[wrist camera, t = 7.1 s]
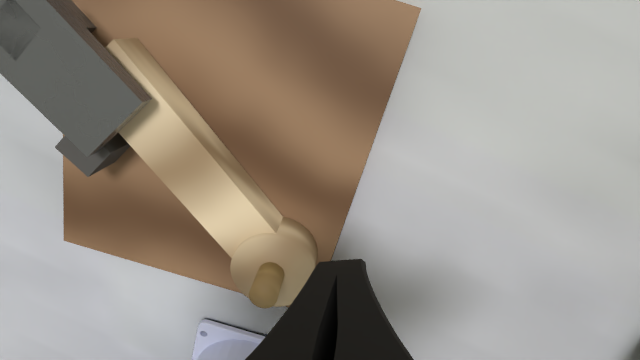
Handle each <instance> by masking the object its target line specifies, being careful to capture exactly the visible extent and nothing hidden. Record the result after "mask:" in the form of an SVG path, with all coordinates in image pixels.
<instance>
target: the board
mask: <svg viewBox="0 0 640 360" xmlns="http://www.w3.org/2000/svg"><path fill="white" fill-rule="evenodd" d="M72 1H73V2H74V3H75V5H76V6H77V7H78V8H79V9H80V10H81V11H82V12H83V13H84V14H85V15H86V16H87V18H88V19H89V20H90V21H91V22H92V23H93V24H94V25H95V26H96V27H97V28H96V29H95V30H94V31H93V32H92V35H93V36H94V37H95V38H96V39H97V40H98V41H99V42H100V43H101V44H102V45H103V46H104V47H106V46H107V45H108V44H109V43H110V42H111V41H112V40H113V39H127V38H137V39H138V40H139V41H140V42H141V43H142V45H143V46H144V47H145V48H146V50H147V51H148V52H149V53H150V54H151V56H152V57H153V58H154V59H155V61H156V62H157V63H158V64H159V65H160V67H161V68H162V69H163V70H164V72H165V73H166V74H167V75H168V77H169V78H170V79H171V80H172V81H173V83H174V84H175V85H176V86H177V88H178V89H179V90H180V91H181V92H182V94H183V95H184V96H185V97H186V99H187V100H188V101H189V102H190V103H191V105H192V106H193V107H194V108H195V110H196V111H197V112H198V113H199V114H200V116H201V117H202V118H203V119H204V121H205V122H206V123H207V124H208V126H209V127H210V128H211V129H212V130H213V132H214V133H215V134H216V135H217V137H218V138H219V139H220V140H221V141H222V143H223V144H224V145H225V146H226V148H227V149H228V150H229V151H230V152H231V154H232V155H233V156H234V157H235V159H236V160H237V161H238V162H239V163H240V165H241V166H242V167H243V168H244V170H245V171H246V172H247V173H248V175H249V176H250V177H251V178H252V179H253V181H254V182H255V183H256V184H257V186H258V187H259V188H260V189H261V190H262V192H263V193H264V194H265V195H266V197H267V198H268V199H269V200H270V201H271V203H272V204H273V205H274V206H275V208H276V209H277V210H278V211H279V212H280V214H281V215H282V216H283V217H286V218H290V219H293V220H295V221H297V222H299V223H300V224H302V225H303V226H304V227H306V228H307V229H308V230H309V231H310V233H311V234H312V236H313V237H314V239H315V241H316V244H317V251H318V254H317V261H316V265H317V264H318V263H319V262H325V261H331V258H332V255H333V253H334V250H335V247H336V244H337V242H338V239H339V236H340V233H341V230H342V228H343V225H344V222H345V219H346V216H347V214H348V211H349V208H350V205H351V203H352V200H353V197H354V194H355V191H356V189H357V186H358V183H359V180H360V178H361V175H362V172H363V169H364V166H365V164H366V161H367V158H368V155H369V152H370V150H371V147H372V144H373V141H374V139H375V136H376V133H377V130H378V127H379V125H380V122H381V119H382V116H383V113H384V111H385V108H386V105H387V102H388V100H389V97H390V94H391V91H392V88H393V86H394V83H395V80H396V77H397V75H398V72H399V69H400V66H401V63H402V61H403V58H404V55H405V52H406V49H407V47H408V44H409V41H410V38H411V36H412V33H413V30H414V27H415V24H416V22H417V19H418V16H419V13H420V10H421V8H419V7H415V6H412V5H409V4H406V3H403V2H399V1H396V0H72ZM64 136H65V135H64V134H63V137H64ZM63 191H64V241H67V242H70V243H74V244H77V245H81V246H84V247H87V248H91V249H94V250H97V251H101V252H104V253H108V254H111V255H114V256H118V257H121V258H124V259H128V260H131V261H135V262H138V263H141V264H145V265H148V266H151V267H155V268H158V269H162V270H165V271H168V272H172V273H175V274H178V275H182V276H185V277H189V278H192V279H195V280H199V281H202V282H205V283H209V284H212V285H216V286H219V287H222V288H226V289H229V290H233V291H236V292H239V293H242V292H241V291H240V290H239V289H238V288H237V286H236V285H235V283H234V281H233V279H232V276H231V270H230V265H231V260H232V258H231V257H230V256H229V255H228V254H227V252H226V251H225V250H224V249H223V248H222V247H221V246H220V245H219V244H218V243H217V241H216V240H215V239H214V238H213V237H212V236H211V235H210V234H209V233H208V231H207V230H206V229H205V228H204V227H203V226H202V225H201V224H200V223H199V221H198V220H197V219H196V218H195V217H194V216H193V215H192V214H191V213H190V211H189V210H188V209H187V208H186V207H185V206H184V205H183V204H182V203H181V201H180V200H179V199H178V198H177V197H176V196H175V195H174V194H173V193H172V191H171V190H170V189H169V188H168V187H167V186H166V185H165V184H164V183H163V181H162V180H161V179H160V178H159V177H158V176H157V175H156V174H155V173H154V171H153V170H152V169H151V168H150V167H149V166H148V165H147V164H146V163H145V161H144V160H143V159H142V158H141V157H140V156H139V155H138V154H137V153H136V151H135V150H134V149H133V148H132V147H131V146H130V147H129V148H128V149H127V150H126V151H125V152H124V153H123V154H122V155H121V156H120V158H119V159H118V160H117V161H116V162H114V163H113V164H111V165H109V166H107V167H105V168H104V169H102V170H100V171H98V172H96V173H95V174H93V175H91V176H89V177H87V176H86V175H85V174H84V173H83V172H82V171H81V170H79V169H78V168H77V167H76V166H75V165H74V164H73V163H72V162H71V161H69V160H68V159H67V158H66V157H65V156H64V155H63ZM315 267H316V266H315ZM289 306H290V305H287V307H289Z"/></svg>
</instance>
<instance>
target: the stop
mask: <svg viewBox="0 0 640 360" xmlns="http://www.w3.org/2000/svg"><path fill="white" fill-rule="evenodd" d="M129 147H130V145H129V144H128V143H127V141H126V140H125V139H124V138H123V137H122V136H121V135H120V134H119V133H117V134H116V135H115V136H114V137H113V138H112V139H111V140H110V141H109V142H108V143H107V144H106V145H105V146H104V147H103V148H102V149H101V150H100V151H99V152H97V153H95V154H93V155H91V156H89V157H87V156H85V155H84V154H83V153H82V152H81V151H80V150H79V149H78V148H77V147H76V146H75V145H74V144H73V143H72V142H71V141H70V140H69V139H68V138H67V137H66V136H64V137H63V138H62V140H61V141H60V142H59V143H58V144H57V145H56V147H55V148H56V149H57V150H58V151H60V152H61V153H62V154H63V155H64V156H65V157H66V158H67V159H68V160H69V161H71V162H72V163H73V164H74V165H75V166H76V167H77V168H78V169H79V170H81V171H82V172H83V173H84V174H85V175H86V176H87V177H89V176H91V175H93V174H95V173H96V172H98V171H100V170H102V169H104V168H105V167H107V166H109V165H111V164H113V163H114V162H116V161H117V160H118V159H119V158H120V156H121V155H122V154H123V153H124V152H125V151H126V150H127V149H128V148H129Z"/></svg>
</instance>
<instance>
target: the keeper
mask: <svg viewBox="0 0 640 360" xmlns="http://www.w3.org/2000/svg"><path fill="white" fill-rule="evenodd" d="M96 28H97V27H96V26H95V25H94V24H93V23H92V22H91V21H90V20H89V19H88V18H87V16H86V15H85V14H84V13H83V12H82V11H81V10H80V9H79V8H78V7H77V6H76V5H75V3H74V2H73V1H72V0H0V73H1V74H2V75H3V76H4V77H5V78H6V79H7V80H8V81H9V82H10V83H11V84H12V85H13V86H14V87H15V88H16V89H17V90H18V91H19V92H20V93H21V94H22V95H23V96H24V97H25V98H26V99H28V100H29V101H30V102H31V103H32V104H33V105H34V106H35V107H36V108H37V109H38V110H39V111H40V112H41V113H42V114H43V115H44V116H45V117H46V118H47V119H48V120H49V121H50V122H51V123H52V124H53V125H54V126H55V127H56V128H58V129H59V130H60V131H61V132H62V133H63V134H64V135H65V136H66V137H67V138H68V139H69V140H70V141H71V142H72V143H73V144H74V145H75V146H76V147H77V148H78V149H79V150H80V151H81V152H82V153H83V154H84V155H85V156H87V157H89V156H91V155H93V154H95V153H97V152H99V151H100V150H101V149H102V148H103V147H104V146H105V145H106V144H107V143H108V142H109V141H110V140H111V139H112V138H113V137H114V136H115V135H116V134H117V133H118V132H119V131H120V130H121V129H122V128H123V127H124V126H125V125H126V124H127V123H128V122H129V121H130V120H131V119H132V118H133V117H134V116H135V115H136V114H138V113H139V112H140V111H141V110H142V109H143V108H144V107H145V106H146V105H147V104H148V103H149V102H150V101H151V100H152V98H151V97H150V96H149V95H148V94H147V93H146V92H145V90H144V89H143V88H142V87H141V86H140V85H139V84H138V83H137V82H136V81H135V80H134V79H133V78H132V76H131V75H130V74H129V73H128V72H127V71H126V70H125V69H124V68H123V67H122V66H121V65H120V64H119V63H118V61H117V60H116V59H115V58H114V57H113V56H112V55H111V54H110V53H109V52H108V51H107V50H106V49H105V47H104V46H103V45H102V44H101V43H100V42H99V41H98V40H97V39H96V38H95V37H94V36H93V35H92V32H93V31H94V30H95V29H96Z"/></svg>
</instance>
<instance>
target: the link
mask: <svg viewBox="0 0 640 360" xmlns="http://www.w3.org/2000/svg"><path fill="white" fill-rule="evenodd" d="M105 49H106V50H107V51H108V52H109V53H110V54H111V55H112V56H113V57H114V58H115V59H116V60H117V61H118V63H119V64H120V65H121V66H122V67H123V68H124V69H125V70H126V71H127V72H128V73H129V74H130V75H131V76H132V78H133V79H134V80H135V81H136V82H137V83H138V84H139V85H140V86H141V87H142V88H143V89H144V90H145V92H146V93H147V94H148V95H149V96H150V97H151V98H152V100H151V101H150V102H149V103H148V104H147V105H146V106H145V107H144V108H143V109H142V110H141V111H140V112H139V113H138V114H136V115H135V116H134V117H133V118H132V119H131V120H130V121H129V122H128V123H127V124H126V125H125V126H124V127H123V128H122V129H121V130H120V131H119V132H118V133H119V134H120V135H121V136H122V137H123V138H124V139H125V140H126V141H127V143H128V144H129V145H130V146H131V147H132V148H133V149H134V150H135V151H136V153H137V154H138V155H139V156H140V157H141V158H142V159H143V160H144V161H145V163H146V164H147V165H148V166H149V167H150V168H151V169H152V170H153V171H154V173H155V174H156V175H157V176H158V177H159V178H160V179H161V180H162V181H163V183H164V184H165V185H166V186H167V187H168V188H169V189H170V190H171V191H172V193H173V194H174V195H175V196H176V197H177V198H178V199H179V200H180V201H181V203H182V204H183V205H184V206H185V207H186V208H187V209H188V210H189V211H190V213H191V214H192V215H193V216H194V217H195V218H196V219H197V220H198V221H199V223H200V224H201V225H202V226H203V227H204V228H205V229H206V230H207V231H208V233H209V234H210V235H211V236H212V237H213V238H214V239H215V240H216V241H217V243H218V244H219V245H220V246H221V247H222V248H223V249H224V250H225V251H226V252H227V254H228V255H229V256H230V257H231V258H232V260H231V265H230V270H231V276H232V279H233V281H234V283H235V285H236V286H237V288H238V289H239V290H240V291H241V292H242V293H243V294H244V295H245V296H247V297H248V298H249V299H250V301H251V302H252V303H253V304H254V305H256V306H257V307H260V308H270V307H272V306H274V307H280V306H287V305H291V304H292V302H293V301H294V299H295V298H296V296H297V295H298V294H299V292H300V291H301V289H302V288H303V286H304V285H305V283H306V281H307V280H308V278H309V277H310V275H311V273H312V272H313V270H314V268H315V266H316V261H317V254H318V251H317V244H316V241H315V239H314V237H313V236H312V234H311V233H310V231H309V230H308V229H307V228H306V227H304V226H303V225H302V224H300V223H299V222H297V221H295V220H293V219H290V218H286V217H283V216H282V215H281V214H280V212H279V211H278V210H277V209H276V208H275V206H274V205H273V204H272V203H271V201H270V200H269V199H268V198H267V197H266V195H265V194H264V193H263V192H262V190H261V189H260V188H259V187H258V186H257V184H256V183H255V182H254V181H253V179H252V178H251V177H250V176H249V175H248V173H247V172H246V171H245V170H244V168H243V167H242V166H241V165H240V163H239V162H238V161H237V160H236V159H235V157H234V156H233V155H232V154H231V152H230V151H229V150H228V149H227V148H226V146H225V145H224V144H223V143H222V141H221V140H220V139H219V138H218V137H217V135H216V134H215V133H214V132H213V130H212V129H211V128H210V127H209V126H208V124H207V123H206V122H205V121H204V119H203V118H202V117H201V116H200V114H199V113H198V112H197V111H196V110H195V108H194V107H193V106H192V105H191V103H190V102H189V101H188V100H187V99H186V97H185V96H184V95H183V94H182V92H181V91H180V90H179V89H178V88H177V86H176V85H175V84H174V83H173V81H172V80H171V79H170V78H169V77H168V75H167V74H166V73H165V72H164V70H163V69H162V68H161V67H160V65H159V64H158V63H157V62H156V61H155V59H154V58H153V57H152V56H151V54H150V53H149V52H148V51H147V50H146V48H145V47H144V46H143V45H142V43H141V42H140V41H139V40H138V39H137V38H127V39H113V40H112V41H111V42H110V43H109V44H108V45H107V46H106V47H105Z"/></svg>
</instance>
